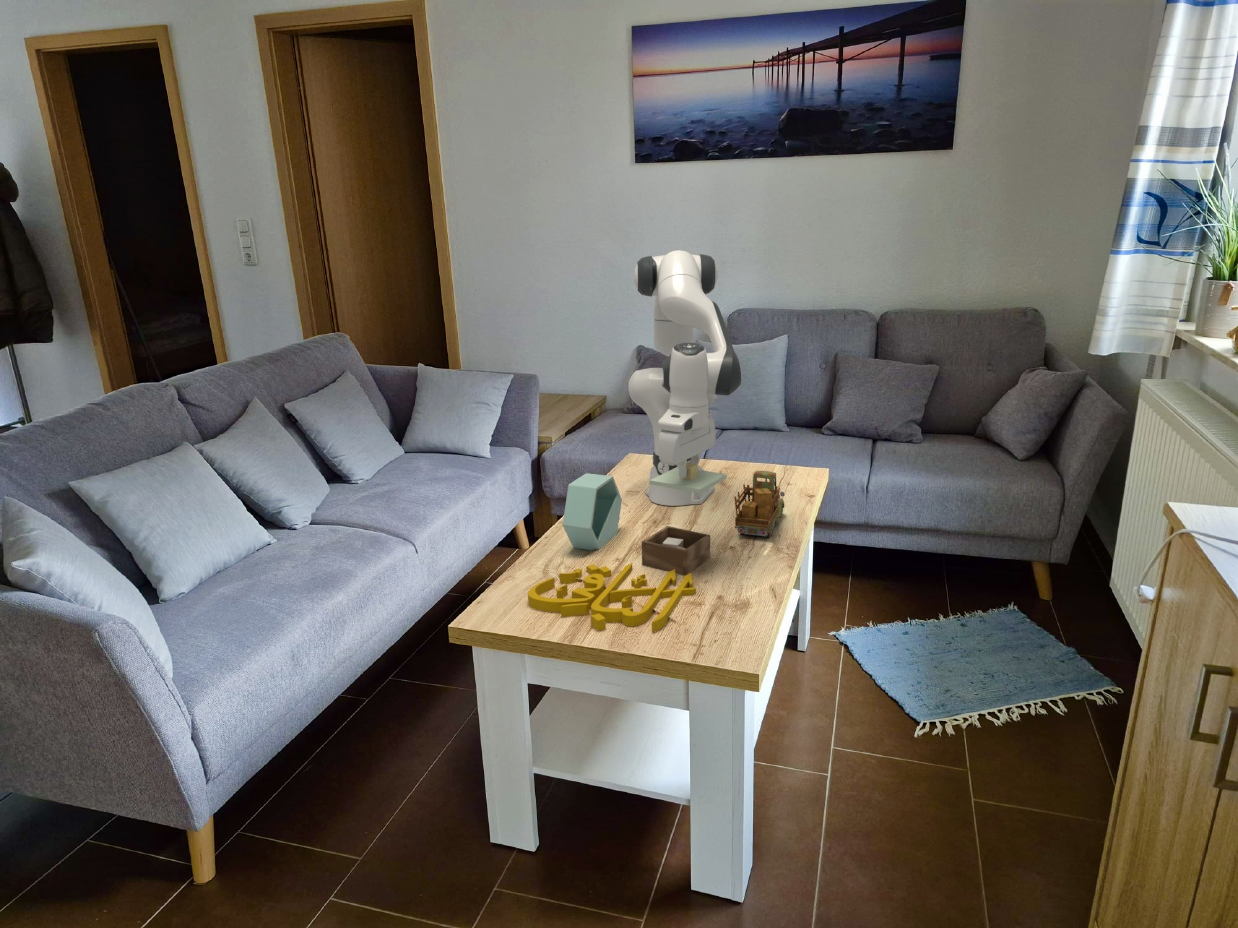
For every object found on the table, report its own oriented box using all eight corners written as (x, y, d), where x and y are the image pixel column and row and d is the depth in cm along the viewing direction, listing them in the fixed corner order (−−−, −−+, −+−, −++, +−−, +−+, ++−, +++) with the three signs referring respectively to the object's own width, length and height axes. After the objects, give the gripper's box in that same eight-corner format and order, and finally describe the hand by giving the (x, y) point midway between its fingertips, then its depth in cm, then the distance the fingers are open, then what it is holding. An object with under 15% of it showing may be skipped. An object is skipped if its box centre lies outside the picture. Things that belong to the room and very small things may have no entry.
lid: (678, 470, 205) (678, 454, 204) (726, 478, 198) (726, 462, 197) (649, 484, 195) (649, 467, 194) (699, 493, 188) (699, 476, 187)
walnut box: (667, 551, 213) (667, 525, 211) (710, 561, 206) (710, 535, 204) (642, 568, 203) (641, 541, 201) (685, 579, 197) (686, 551, 195)
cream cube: (668, 552, 210) (668, 537, 209) (683, 554, 209) (683, 539, 207) (662, 558, 207) (662, 543, 205) (677, 560, 205) (677, 545, 204)
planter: (605, 564, 218) (584, 515, 203) (578, 559, 221) (555, 511, 206) (626, 512, 227) (608, 462, 212) (600, 508, 230) (580, 459, 215)
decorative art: (511, 603, 181) (575, 552, 207) (512, 615, 182) (575, 563, 208) (658, 632, 168) (707, 574, 194) (658, 645, 169) (707, 585, 195)
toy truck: (789, 514, 237) (791, 463, 233) (772, 547, 215) (774, 491, 210) (751, 510, 241) (752, 460, 236) (730, 542, 218) (731, 487, 214)
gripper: (698, 405, 202) (698, 461, 206) (653, 423, 186) (653, 483, 190) (722, 408, 199) (721, 465, 203) (678, 427, 183) (678, 488, 187)
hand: (688, 474), depth 196 cm, fingers closed on lid, 3 cm apart
